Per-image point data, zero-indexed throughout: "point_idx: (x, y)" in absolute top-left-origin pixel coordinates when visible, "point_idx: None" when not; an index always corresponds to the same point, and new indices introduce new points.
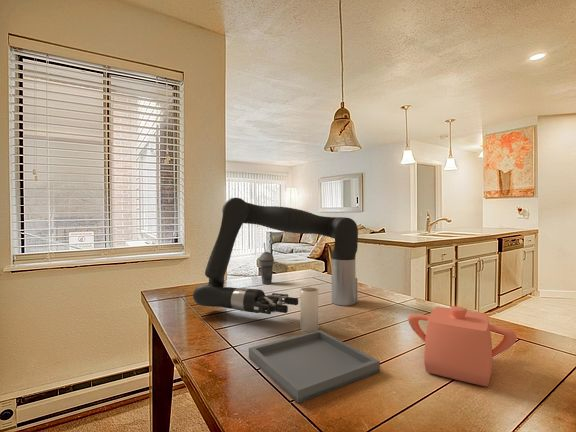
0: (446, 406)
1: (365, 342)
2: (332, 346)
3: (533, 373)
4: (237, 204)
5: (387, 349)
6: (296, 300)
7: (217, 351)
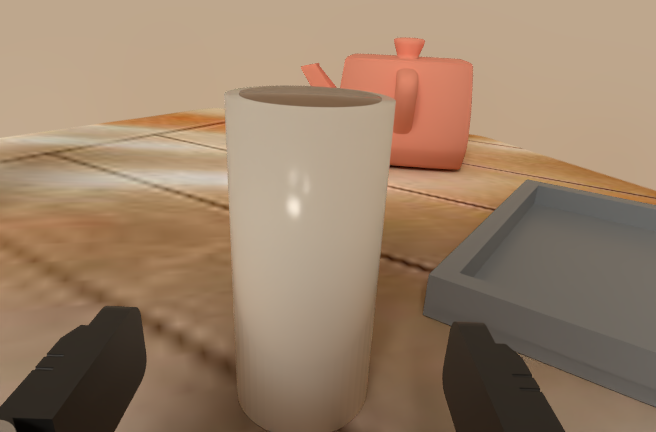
0: (544, 169)
1: None
2: (493, 260)
3: None
4: None
5: None
6: (134, 329)
7: None
